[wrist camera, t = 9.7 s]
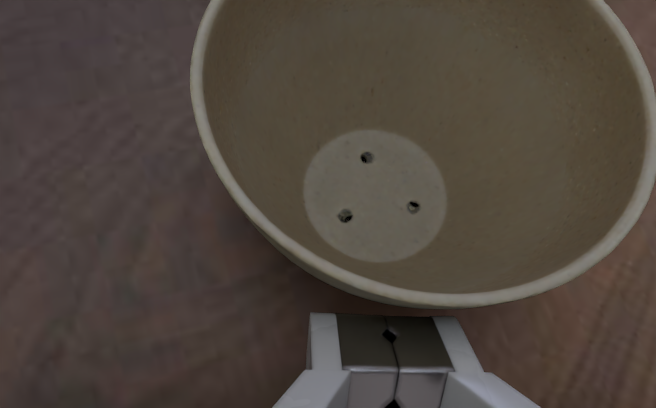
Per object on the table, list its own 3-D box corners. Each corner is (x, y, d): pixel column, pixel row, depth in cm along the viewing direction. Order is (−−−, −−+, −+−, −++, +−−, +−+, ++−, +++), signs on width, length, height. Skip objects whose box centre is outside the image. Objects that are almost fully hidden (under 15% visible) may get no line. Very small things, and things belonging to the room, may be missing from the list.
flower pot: (432, 56, 19) (514, -123, 12) (558, 280, 16) (760, 201, 9) (194, 119, 17) (137, -57, 10) (284, 394, 13) (286, 401, 7)
